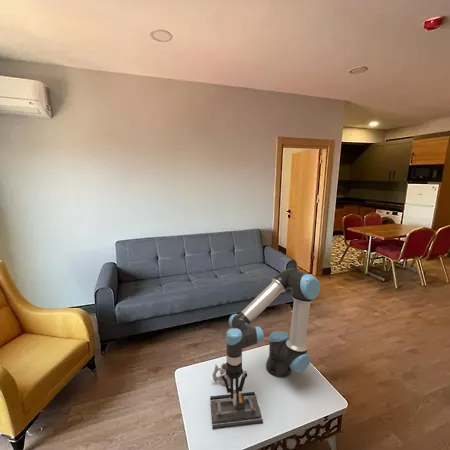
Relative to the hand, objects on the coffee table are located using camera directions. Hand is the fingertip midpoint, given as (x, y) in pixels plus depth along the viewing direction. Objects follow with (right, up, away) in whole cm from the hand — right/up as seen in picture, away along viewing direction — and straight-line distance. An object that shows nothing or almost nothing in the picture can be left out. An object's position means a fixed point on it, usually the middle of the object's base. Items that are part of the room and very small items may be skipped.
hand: (234, 403), depth 129 cm
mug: (-6, -1, +19) cm, 20 cm away
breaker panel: (0, -4, +1) cm, 4 cm away
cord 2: (+1, -5, -7) cm, 9 cm away
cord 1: (-1, -3, +9) cm, 9 cm away
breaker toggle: (+3, -3, +1) cm, 4 cm away
